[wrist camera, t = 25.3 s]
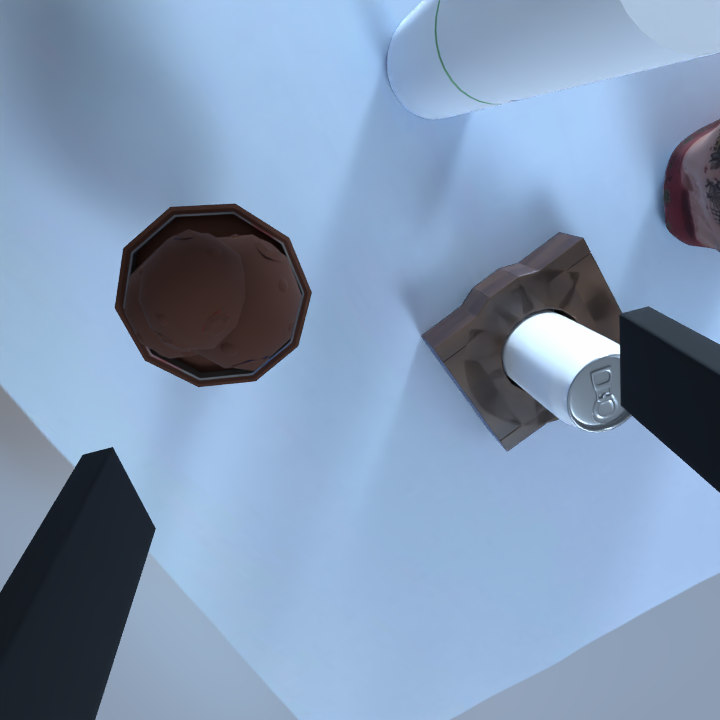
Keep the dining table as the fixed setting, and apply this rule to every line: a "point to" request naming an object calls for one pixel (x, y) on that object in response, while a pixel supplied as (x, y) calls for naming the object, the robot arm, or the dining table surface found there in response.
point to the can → (566, 370)
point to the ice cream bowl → (212, 294)
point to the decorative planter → (695, 189)
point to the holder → (502, 311)
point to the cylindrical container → (537, 47)
